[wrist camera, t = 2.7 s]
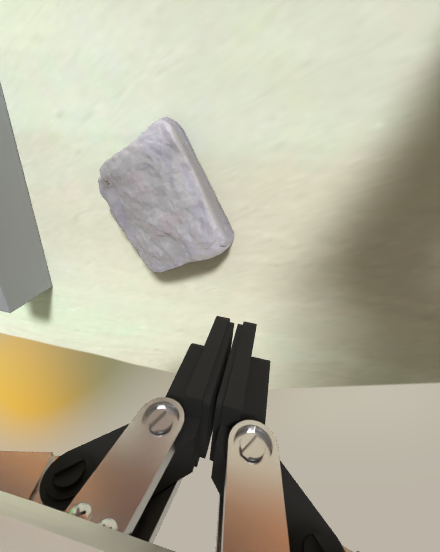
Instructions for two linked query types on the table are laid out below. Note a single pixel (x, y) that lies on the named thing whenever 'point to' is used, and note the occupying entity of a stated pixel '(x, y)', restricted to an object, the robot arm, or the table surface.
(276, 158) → the table surface
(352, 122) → the table surface
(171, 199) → the stone block
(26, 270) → the board
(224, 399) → the robot arm
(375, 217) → the table surface
